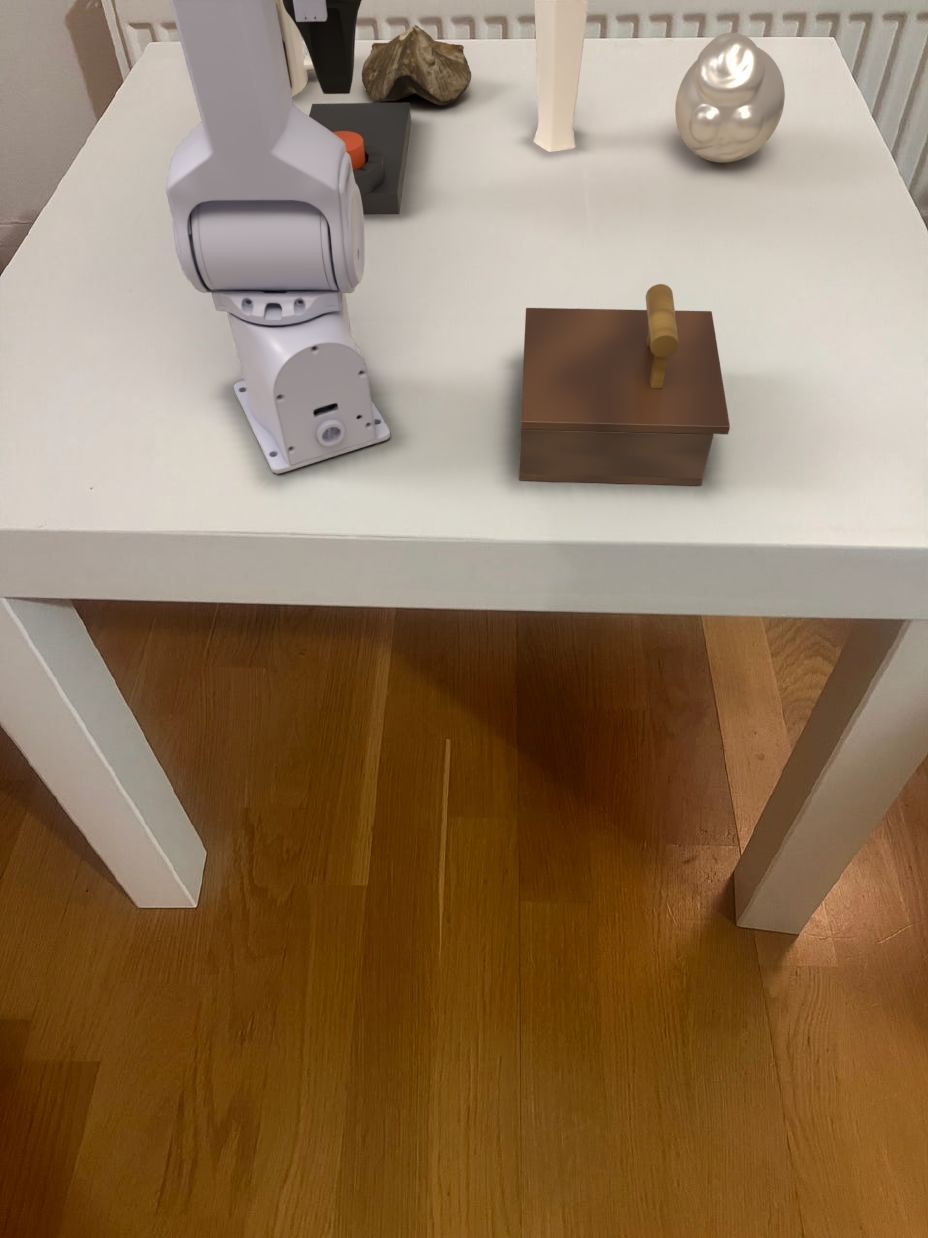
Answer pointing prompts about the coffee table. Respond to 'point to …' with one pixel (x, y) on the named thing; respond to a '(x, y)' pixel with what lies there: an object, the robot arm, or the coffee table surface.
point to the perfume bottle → (558, 69)
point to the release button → (353, 147)
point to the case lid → (623, 369)
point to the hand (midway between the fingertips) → (337, 89)
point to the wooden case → (613, 456)
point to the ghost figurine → (729, 100)
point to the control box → (374, 148)
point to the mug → (293, 50)
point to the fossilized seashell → (416, 69)
